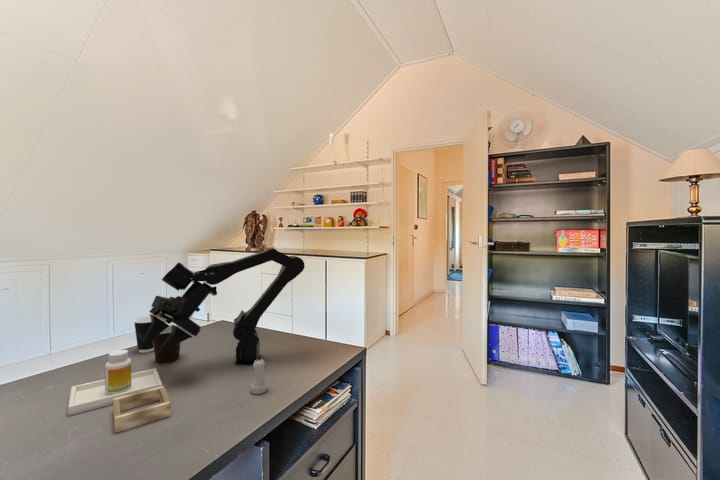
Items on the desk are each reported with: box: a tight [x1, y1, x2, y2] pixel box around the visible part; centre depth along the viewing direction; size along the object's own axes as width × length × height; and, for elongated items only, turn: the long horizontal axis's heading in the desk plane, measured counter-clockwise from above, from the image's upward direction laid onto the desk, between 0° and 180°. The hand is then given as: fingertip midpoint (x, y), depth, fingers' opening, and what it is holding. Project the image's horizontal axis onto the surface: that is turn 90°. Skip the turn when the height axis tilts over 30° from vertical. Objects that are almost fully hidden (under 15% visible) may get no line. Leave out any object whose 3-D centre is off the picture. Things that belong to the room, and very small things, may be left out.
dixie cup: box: [132, 315, 154, 354], centre depth 110 cm, size 8×8×11 cm
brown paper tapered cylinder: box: [153, 324, 182, 365], centre depth 103 cm, size 12×9×10 cm
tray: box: [67, 367, 163, 417], centre depth 81 cm, size 18×12×2 cm, turn 130°
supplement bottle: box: [104, 349, 132, 394], centre depth 81 cm, size 5×5×10 cm
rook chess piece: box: [249, 358, 268, 395], centre depth 84 cm, size 4×4×8 cm
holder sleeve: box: [112, 385, 172, 434], centre depth 72 cm, size 10×10×3 cm
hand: (152, 347), depth 87 cm, fingers open, 9 cm apart
